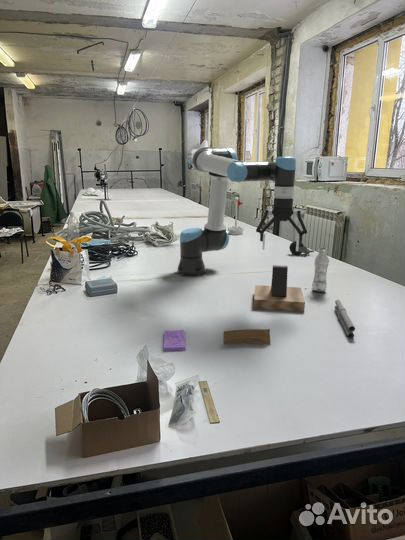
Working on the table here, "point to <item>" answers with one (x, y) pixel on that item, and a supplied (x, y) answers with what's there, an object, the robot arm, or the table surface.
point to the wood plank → (247, 336)
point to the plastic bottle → (320, 271)
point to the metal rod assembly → (344, 319)
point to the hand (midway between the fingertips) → (280, 249)
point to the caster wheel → (301, 249)
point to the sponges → (174, 340)
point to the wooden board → (279, 299)
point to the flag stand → (234, 229)
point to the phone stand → (279, 281)
